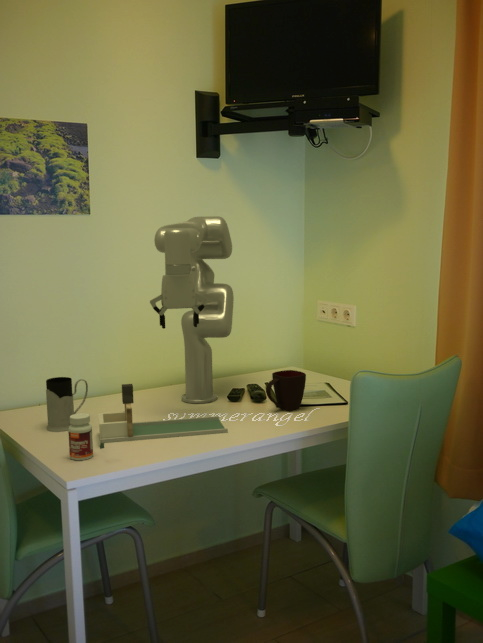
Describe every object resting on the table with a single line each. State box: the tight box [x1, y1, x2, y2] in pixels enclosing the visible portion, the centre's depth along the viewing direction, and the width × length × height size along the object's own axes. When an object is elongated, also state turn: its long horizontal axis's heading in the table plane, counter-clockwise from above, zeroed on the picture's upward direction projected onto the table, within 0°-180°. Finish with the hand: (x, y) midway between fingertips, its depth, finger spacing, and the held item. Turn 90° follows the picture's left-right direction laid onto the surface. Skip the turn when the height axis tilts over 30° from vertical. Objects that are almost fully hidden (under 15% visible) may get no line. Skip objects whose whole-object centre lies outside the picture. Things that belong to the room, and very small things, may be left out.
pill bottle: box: [67, 412, 94, 461], centre depth 176 cm, size 6×6×11 cm
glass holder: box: [45, 376, 89, 433], centre depth 204 cm, size 9×14×15 cm, turn 136°
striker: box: [121, 383, 135, 436], centre depth 190 cm, size 14×3×14 cm, turn 13°
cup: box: [265, 369, 307, 412], centre depth 218 cm, size 10×14×12 cm
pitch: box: [98, 410, 229, 449], centre depth 193 cm, size 14×36×6 cm, turn 103°
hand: (179, 327), depth 200 cm, fingers open, 9 cm apart
